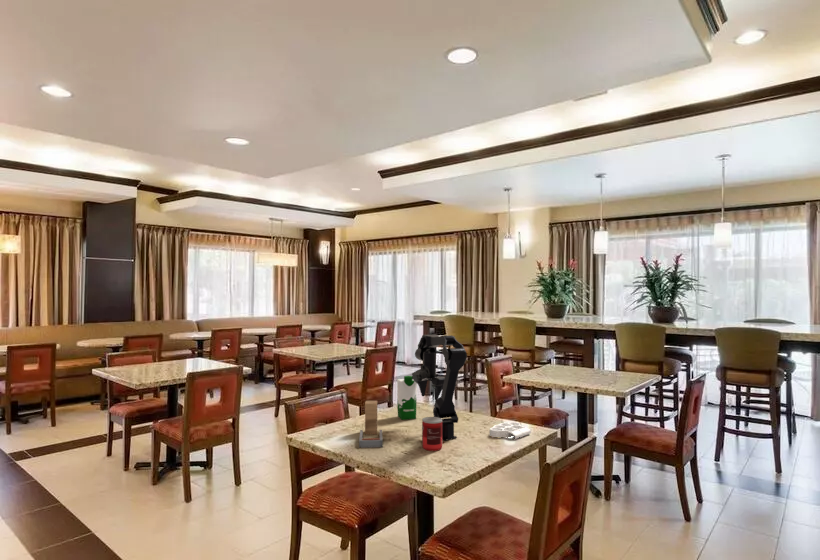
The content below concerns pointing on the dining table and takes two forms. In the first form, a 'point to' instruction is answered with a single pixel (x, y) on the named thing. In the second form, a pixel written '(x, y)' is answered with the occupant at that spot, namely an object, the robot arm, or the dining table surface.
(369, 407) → the block
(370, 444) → the gray u-shaped bracket
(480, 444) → the dining table surface
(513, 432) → the white egg tray
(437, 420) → the canned food
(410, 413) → the milk carton
